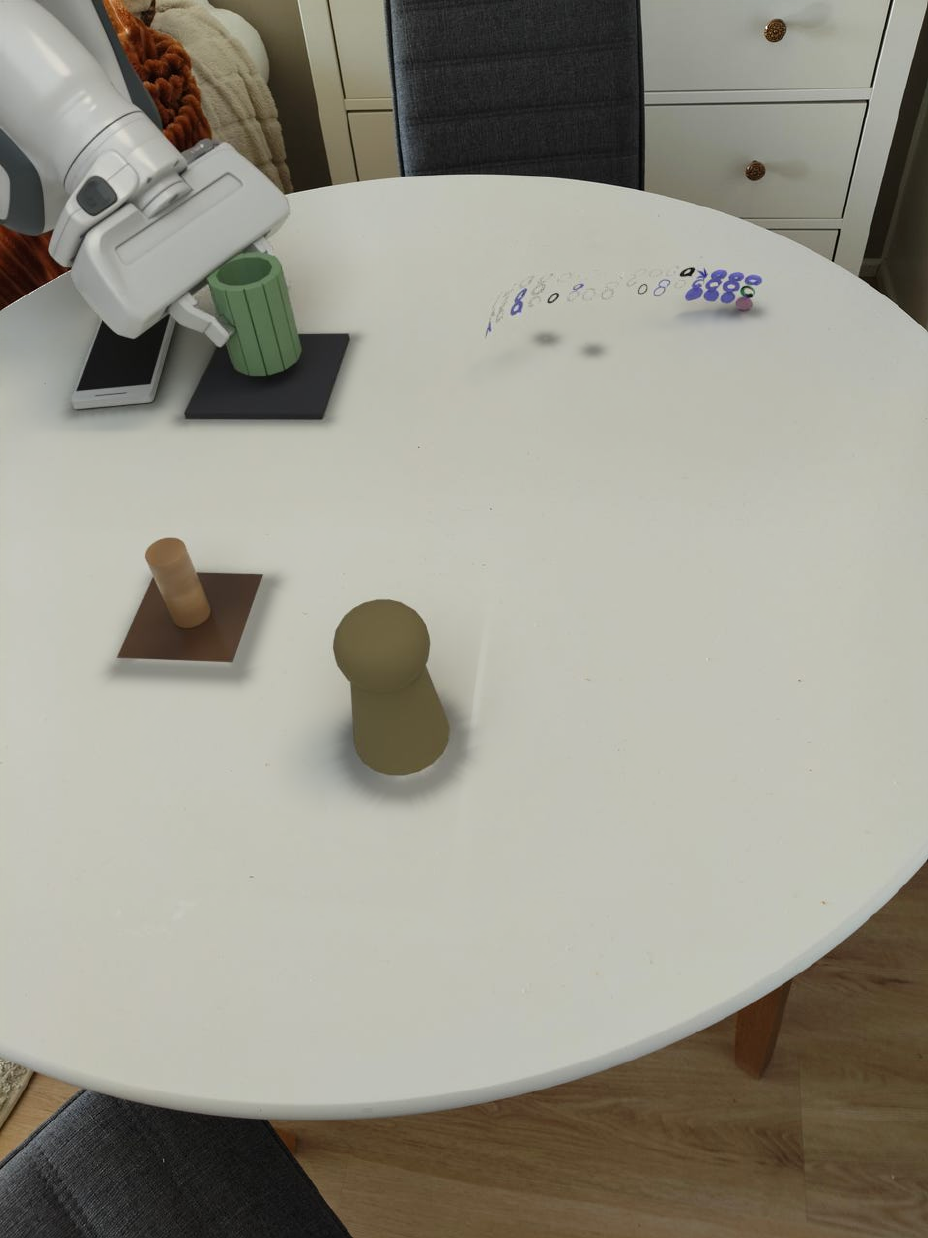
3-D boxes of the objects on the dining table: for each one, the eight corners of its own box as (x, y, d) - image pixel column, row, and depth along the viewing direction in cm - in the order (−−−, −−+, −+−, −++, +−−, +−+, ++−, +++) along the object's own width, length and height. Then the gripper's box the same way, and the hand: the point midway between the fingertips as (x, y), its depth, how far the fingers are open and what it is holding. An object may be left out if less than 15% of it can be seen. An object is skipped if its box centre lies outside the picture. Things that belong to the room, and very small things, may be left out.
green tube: (224, 376, 85) (197, 290, 79) (242, 336, 88) (218, 252, 83) (292, 376, 84) (270, 289, 78) (307, 336, 88) (288, 251, 82)
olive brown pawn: (341, 725, 61) (305, 605, 53) (431, 690, 63) (409, 567, 55) (373, 801, 58) (340, 684, 49) (469, 762, 59) (452, 642, 51)
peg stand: (121, 666, 66) (82, 595, 61) (159, 580, 71) (127, 507, 66) (236, 671, 65) (207, 598, 60) (266, 583, 70) (241, 509, 65)
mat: (185, 418, 84) (183, 412, 84) (224, 339, 92) (222, 333, 92) (322, 419, 83) (321, 413, 82) (349, 338, 91) (348, 332, 90)
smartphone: (179, 307, 97) (176, 299, 96) (153, 402, 86) (150, 393, 86) (107, 315, 97) (104, 306, 96) (73, 410, 86) (68, 401, 86)
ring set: (718, 295, 94) (771, 193, 84) (749, 392, 89) (810, 296, 79) (461, 288, 89) (485, 179, 79) (478, 390, 84) (506, 288, 74)
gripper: (204, 153, 88) (313, 276, 91) (32, 263, 77) (165, 398, 80) (229, 106, 83) (344, 239, 86) (50, 217, 72) (190, 364, 75)
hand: (256, 317), depth 83 cm, fingers closed on green tube, 6 cm apart
